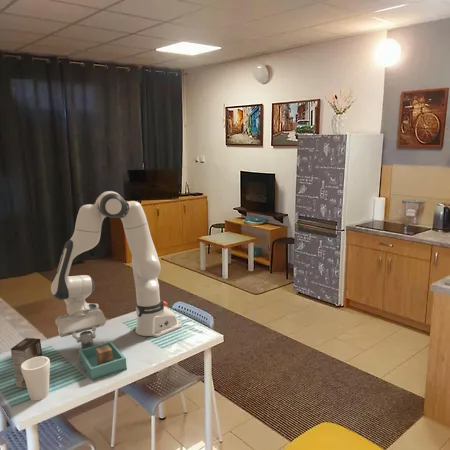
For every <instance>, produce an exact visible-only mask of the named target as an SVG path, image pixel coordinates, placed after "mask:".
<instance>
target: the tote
mask: <svg viewBox="0 0 450 450" xmlns="http://www.w3.org/2000/svg"><path fill="white" fill-rule="evenodd" d="M106 345H109V347H110V348H111V349H112V353H113V361H111V362H108V363H104V364H101V365H97V355H96V348H99V347H103V346H106ZM77 352H78V360H79V363H80V364H81V367H82V368H83V370H84V371H85V372H86V374H87V375H88V377H89V379H90V380H91V381H96V380H100V379H102V378H106V377H108V376H112V375H114V374H117V373H120V372H124V371H127V369H128V367H127V358H126V357H125V355H124V354H123V353H122V352H121V351H120V350H119V348H117V346H116V345H115V344H114V343H113V341H111V340H110V341H107V342H103V343H101V344H97V345H94V346H92V347H89V348H85V349H82V348H81V349H79V350H78V351H77Z"/></svg>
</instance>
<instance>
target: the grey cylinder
mask: <svg viewBox="0 0 450 450" xmlns="http://www.w3.org/2000/svg"><path fill="white" fill-rule="evenodd" d="M92 333H93V331H92V330H87V331H83V332H80V333H79V337H80V339H81V342H80V345H81V350H82V349H85V348H89V347H92V346H95V345H94V338H93V336H92Z"/></svg>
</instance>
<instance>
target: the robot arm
mask: <svg viewBox="0 0 450 450" xmlns="http://www.w3.org/2000/svg"><path fill="white" fill-rule="evenodd" d="M77 212H78V213H77V215H76V220H75V225H74V232H73V234H72V236H71V238H70V239H68V240H67V241H65V244H64V246H63V249H62V252H61V255H60V258H59V261H58V265H57V268H56V272H55V275H54V277H53V278H52V282H51V284H50V293H51V295H52V296H53V297H54V298H55V299H56V300H58V301H64V303H65V304H66V307H65V309H66V312H67V314H64V315H59V316H57V317H56V318H55V320H54V322H55V325H56V327H57V328H58V329H57V332H58V336H59V337H61V338H65V337H68V336H71V335H72V338H74V339H75V340H76V343H77V344H79V343H81V338H80V336H78V335H77V334H80V333H82V332H85V331H91V332H92V336H93V339H95V338H96V336H97V335H96V330H97V328H101V327H103V326H105V325H106V324H107V323H106V322H107V319H106V316H105V314H104V312H103V310H102V309H100V305H99V304H98V303H90V302H89V303H88V302H87V301H86V299H87V298H88V297H90V295H92V294H93V292H94V291H95V289H96V288H95V287H96V286H95V285H96V284H95V282H94V279H93V278H92V277H91V276H90V275H89V274H87V275H86V274H79V275H71V276H70V271H71V267H72V264H73V261H74V259H75V258H76V257H78V256H79V255H81V254H82V253H84V252H88V251H89V250H92V249H94V248H95V247H96V246H97V245H98V244H99V242H100V239H101V233H102V226H103V222H104V219H105V218H107V217H108V218H114V219H116V218H117V219H120V220H121V223H122V225H123V231H124V234H125V238H126V242H127V244H128V248H129V250H130V254H131V267H132V273H133V280H134V286H135V294H136V295H135V297H136V302H135V311H136V317H137V318H136V327H135V333H136V334H137V335H140V336H142V337H143V336H144V337H157V338H158V337H161V336H163V335H165V334H168V333H171V332H173V331H175V330H179V329H180V328H182V326H183V325H182V321H181V320H180V319H178V318H177V316H176V314H175V312H174V311H172V310H171V309H170V308H168V303H167V302H166V301H164V300H162V299H161V297H160V295H161V294H160V293H161V292H160V283H159V279H158V276H160V274H161V272H162V268H161V267H162V266H161V262H160V259H159V255H158V253H157V250H156V246H155V243H154V242H153V238H152V234H151V232H150V231H151V230H150V228H149V222H148V219H147V216H146V213H145V211H144V208H143V206H142V204H141V203H140V202H138V201H136V200H130V201H126V200H125V199H124V197H122V195H120V194H119V193H118V192H116V191H113V190H104V191H102V192H101V193H100V194H98V196H97V197H96V199H95V200H94V201H93V202H92V204H91V203H89V204H83V205H82V206H80V208H79V210H78V211H77Z"/></svg>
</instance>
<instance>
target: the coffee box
mask: <svg viewBox="0 0 450 450" xmlns="http://www.w3.org/2000/svg"><path fill="white" fill-rule="evenodd" d="M10 352H11V359H12V366H13V371H14V378H15V386H16V387H17V388H23V389H27V386H26V383H25V380H24V377H23V374H22V371H21V365H22V363H23V362H25V361H26V360H28V359H30V358H34V357H40V356H43V350H42V343H41V338H30V337H25V338H24V339H22V340H21V341H19V343H16V345H14V346H13V347H11V348H10Z"/></svg>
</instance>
